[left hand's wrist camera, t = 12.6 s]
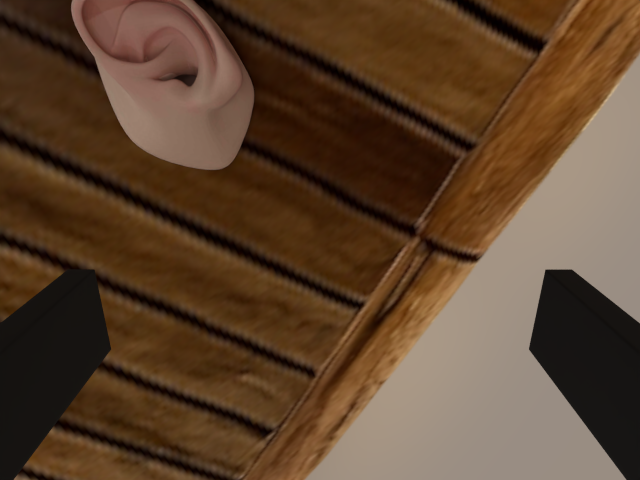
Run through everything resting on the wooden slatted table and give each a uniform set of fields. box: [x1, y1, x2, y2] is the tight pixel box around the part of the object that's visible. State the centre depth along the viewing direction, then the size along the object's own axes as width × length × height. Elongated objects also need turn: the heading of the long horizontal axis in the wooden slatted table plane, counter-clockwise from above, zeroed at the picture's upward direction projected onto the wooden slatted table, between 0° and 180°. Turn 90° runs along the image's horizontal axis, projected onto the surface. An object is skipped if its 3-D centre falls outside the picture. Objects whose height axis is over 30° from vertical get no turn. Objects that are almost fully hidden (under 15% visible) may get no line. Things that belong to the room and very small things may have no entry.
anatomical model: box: [71, 0, 254, 170], centre depth 31 cm, size 13×4×12 cm
